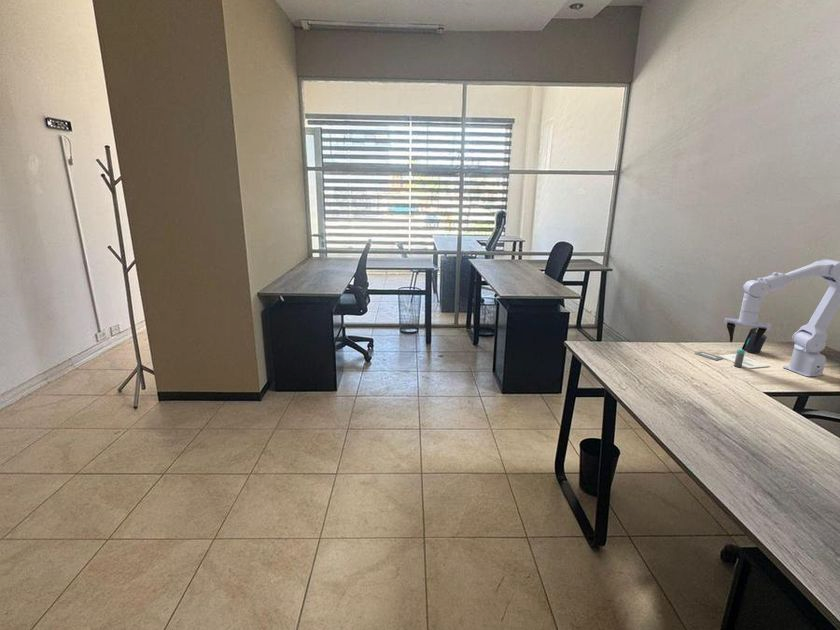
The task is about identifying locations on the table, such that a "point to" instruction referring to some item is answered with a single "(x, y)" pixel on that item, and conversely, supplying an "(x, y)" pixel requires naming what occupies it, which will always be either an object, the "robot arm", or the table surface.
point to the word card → (709, 355)
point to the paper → (745, 361)
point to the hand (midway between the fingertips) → (742, 343)
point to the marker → (739, 358)
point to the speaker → (750, 342)
